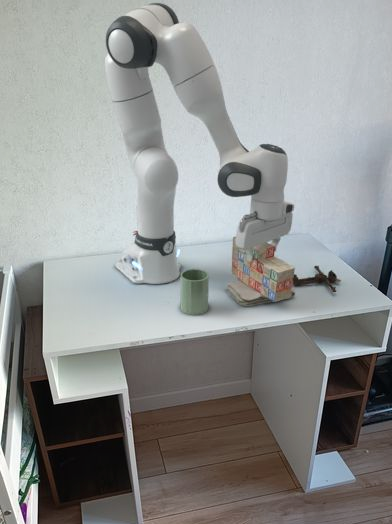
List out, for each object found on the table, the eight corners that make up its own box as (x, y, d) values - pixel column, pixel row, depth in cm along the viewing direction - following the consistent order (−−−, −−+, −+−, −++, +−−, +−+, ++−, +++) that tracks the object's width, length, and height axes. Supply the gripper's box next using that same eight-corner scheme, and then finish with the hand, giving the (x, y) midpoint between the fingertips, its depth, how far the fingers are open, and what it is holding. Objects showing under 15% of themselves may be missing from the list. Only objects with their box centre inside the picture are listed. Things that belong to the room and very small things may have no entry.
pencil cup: (175, 307, 145) (174, 274, 139) (195, 298, 149) (195, 266, 144) (193, 317, 140) (193, 283, 134) (213, 308, 145) (214, 275, 139)
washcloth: (223, 290, 154) (224, 281, 152) (275, 281, 159) (276, 272, 158) (240, 308, 145) (241, 299, 143) (295, 298, 150) (296, 289, 149)
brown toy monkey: (285, 263, 163) (329, 257, 164) (285, 275, 166) (328, 269, 167) (303, 289, 149) (351, 282, 150) (302, 301, 151) (349, 294, 152)
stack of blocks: (291, 297, 144) (296, 257, 137) (274, 303, 141) (278, 262, 134) (246, 269, 159) (249, 232, 152) (230, 274, 156) (232, 236, 149)
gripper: (249, 220, 130) (245, 269, 137) (298, 203, 141) (291, 250, 149) (231, 213, 133) (228, 262, 141) (280, 198, 145) (275, 243, 153)
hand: (261, 255), depth 145 cm, fingers open, 8 cm apart
